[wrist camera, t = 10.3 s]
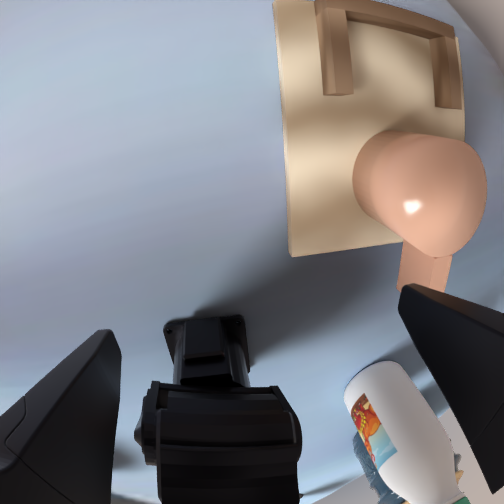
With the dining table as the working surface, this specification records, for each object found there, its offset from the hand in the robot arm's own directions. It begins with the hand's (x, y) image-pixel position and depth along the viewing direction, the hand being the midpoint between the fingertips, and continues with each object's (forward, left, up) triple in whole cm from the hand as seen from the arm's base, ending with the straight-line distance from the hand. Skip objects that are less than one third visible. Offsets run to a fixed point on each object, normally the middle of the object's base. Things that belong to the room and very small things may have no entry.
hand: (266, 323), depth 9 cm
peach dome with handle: (-1, -12, -12) cm, 17 cm away
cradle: (+5, -12, -13) cm, 18 cm away
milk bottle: (-22, -14, -13) cm, 29 cm away
